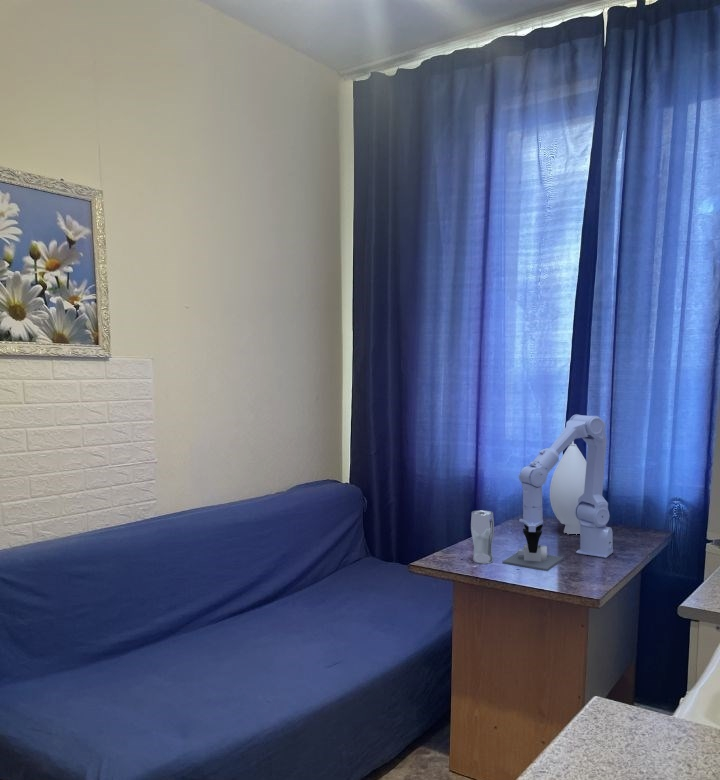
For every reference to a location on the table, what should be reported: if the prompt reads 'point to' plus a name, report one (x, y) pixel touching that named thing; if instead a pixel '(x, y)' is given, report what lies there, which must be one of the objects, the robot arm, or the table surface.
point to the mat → (533, 562)
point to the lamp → (568, 488)
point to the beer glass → (482, 535)
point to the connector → (538, 556)
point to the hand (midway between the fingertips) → (533, 549)
